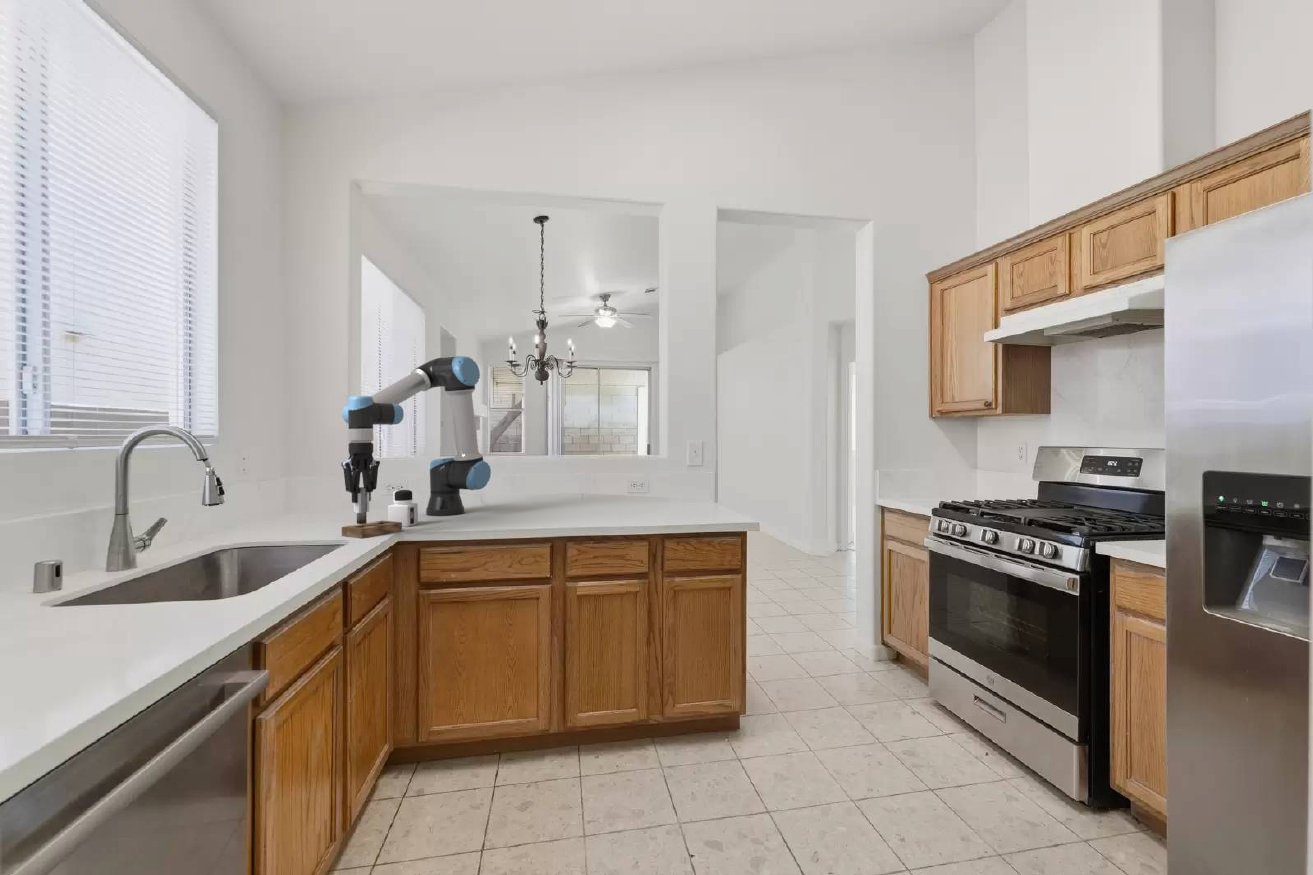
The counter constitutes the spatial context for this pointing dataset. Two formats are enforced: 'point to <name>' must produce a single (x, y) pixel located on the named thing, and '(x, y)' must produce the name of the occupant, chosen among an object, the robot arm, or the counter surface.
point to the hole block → (371, 529)
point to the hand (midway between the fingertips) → (361, 511)
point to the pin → (362, 507)
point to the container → (403, 509)
